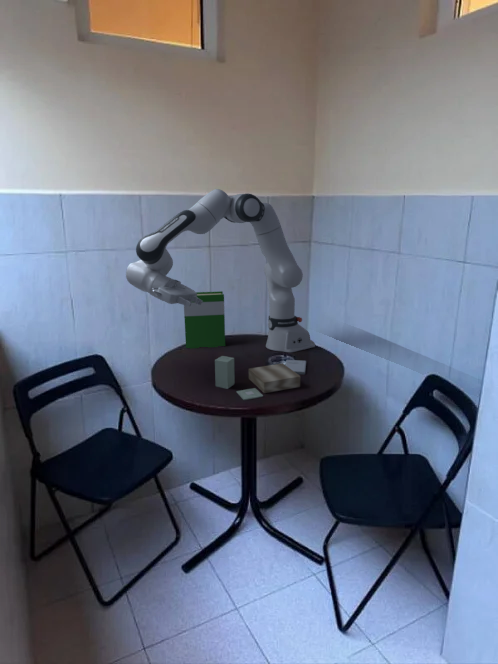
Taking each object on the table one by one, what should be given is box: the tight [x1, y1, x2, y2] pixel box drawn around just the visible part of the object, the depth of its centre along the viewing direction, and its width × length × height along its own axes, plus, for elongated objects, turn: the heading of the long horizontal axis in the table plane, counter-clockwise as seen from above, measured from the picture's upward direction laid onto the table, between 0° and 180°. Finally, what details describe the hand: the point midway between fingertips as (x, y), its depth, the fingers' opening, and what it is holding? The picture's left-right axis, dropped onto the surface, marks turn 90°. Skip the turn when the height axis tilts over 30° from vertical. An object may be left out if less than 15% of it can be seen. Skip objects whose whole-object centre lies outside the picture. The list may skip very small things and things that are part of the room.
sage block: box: [214, 355, 236, 390], centre depth 159 cm, size 5×5×10 cm
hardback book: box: [183, 290, 226, 349], centre depth 201 cm, size 18×7×24 cm, turn 99°
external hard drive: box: [284, 359, 307, 375], centre depth 176 cm, size 2×8×12 cm
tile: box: [235, 387, 264, 401], centre depth 152 cm, size 7×7×1 cm
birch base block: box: [248, 363, 301, 394], centre depth 162 cm, size 14×14×4 cm
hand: (195, 303), depth 162 cm, fingers open, 8 cm apart
